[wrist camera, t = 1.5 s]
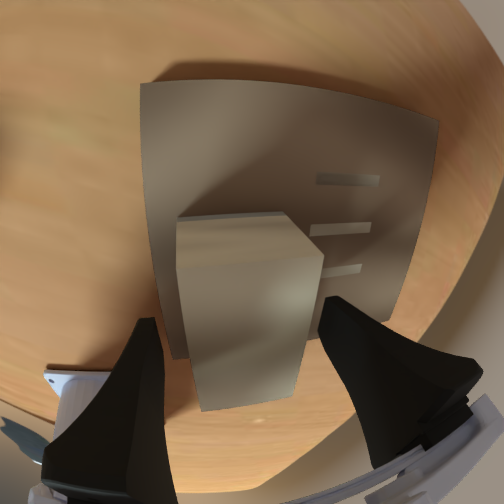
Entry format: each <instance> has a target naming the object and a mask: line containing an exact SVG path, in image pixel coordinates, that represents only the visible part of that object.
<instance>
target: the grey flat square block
mask: <svg viewBox="0 0 504 504" xmlns="http://www.w3.org/2000/svg"><path fill="white" fill-rule="evenodd" d="M438 128H439V121H438V120H436V119H433V118H430V117H428V116H425V115H422V114H419V113H416V112H413V111H410V110H407V109H404V108H401V107H398V106H394V105H391V104H388V103H384V102H380V101H377V100H373V99H369V98H365V97H361V96H356V95H352V94H347V93H343V92H338V91H332V90H327V89H321V88H315V87H309V86H302V85H294V84H286V83H276V82H265V81H250V80H222V79H205V80H177V81H162V82H151V83H142V84H140V133H141V157H142V173H143V186H144V197H145V207H146V216H147V225H148V233H149V240H150V247H151V254H152V260H153V267H154V273H155V279H156V284H157V290H158V295H159V300H160V305H161V310H162V315H163V320H164V324H165V329H166V333H167V337H168V342H169V346H170V350H171V354H172V358H173V360H174V359H186V358H190V356H189V351H188V345H187V339H186V334H185V328H184V322H183V315H182V309H181V302H180V295H179V288H178V280H177V272H176V228H177V218H178V217H191V216H206V215H221V214H238V213H257V212H279V211H283V212H284V213H285V214H286V215H287V216H288V217H289V218H290V220H291V221H292V222H293V223H294V224H295V225H296V226H297V227H298V228H299V229H300V230H301V231H302V232H303V233H304V234H305V235H306V236H307V237H308V238H309V239H310V240H311V242H312V243H313V244H314V245H315V246H316V247H317V248H318V249H319V250H320V251H321V252H322V253H323V254H324V260H323V265H322V271H321V276H320V281H319V286H318V291H317V296H316V301H315V306H314V310H313V315H312V320H311V324H310V328H309V333H308V337H307V340H312V339H317V338H320V337H319V335H318V332H317V329H318V325H319V321H320V317H321V313H322V309H323V305H324V301H325V297H330V296H336V295H338V296H339V297H341V298H343V299H344V300H346V301H347V302H349V303H350V304H352V305H353V306H355V307H356V308H358V309H359V310H361V311H362V312H364V313H365V314H367V315H368V316H370V317H371V318H373V319H374V320H376V321H378V322H379V323H381V322H385V321H388V320H389V319H390V317H391V314H392V312H393V309H394V307H395V304H396V302H397V299H398V297H399V294H400V291H401V288H402V286H403V283H404V280H405V277H406V274H407V271H408V268H409V265H410V262H411V259H412V255H413V252H414V249H415V245H416V242H417V238H418V235H419V231H420V227H421V223H422V220H423V215H424V211H425V207H426V203H427V198H428V193H429V188H430V183H431V178H432V172H433V166H434V160H435V153H436V146H437V137H438Z"/></svg>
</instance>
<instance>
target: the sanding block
mask: <svg viewBox="0 0 504 504" xmlns="http://www.w3.org/2000/svg"><path fill="white" fill-rule="evenodd" d="M323 260H324V254H323V253H322V252H321V251H320V250H319V249H318V248H317V247H316V246H315V245H314V244H313V243H312V242H311V240H310V239H309V238H308V237H307V236H306V235H305V234H304V233H303V232H302V231H301V230H300V229H299V228H298V227H297V226H296V225H295V224H294V223H293V222H292V221H291V220H290V218H289V217H288V216H287V215H286V214H285V213H284V212H283V211H279V212H257V213H238V214H221V215H206V216H191V217H178V218H177V228H176V272H177V280H178V288H179V295H180V302H181V309H182V315H183V322H184V328H185V334H186V339H187V345H188V351H189V356H190V361H191V366H192V371H193V376H194V381H195V386H196V390H197V395H198V399H199V404H200V408H201V412H203V411H212V410H220V409H228V408H234V407H241V406H247V405H252V404H258V403H263V402H268V401H273V400H278V399H282V398H287V397H291V396H292V395H293V391H294V388H295V384H296V381H297V377H298V373H299V369H300V365H301V361H302V358H303V354H304V349H305V345H306V341H307V337H308V333H309V328H310V324H311V320H312V315H313V310H314V306H315V301H316V296H317V291H318V286H319V281H320V276H321V271H322V265H323Z"/></svg>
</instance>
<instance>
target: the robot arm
mask: <svg viewBox="0 0 504 504" xmlns="http://www.w3.org/2000/svg"><path fill="white" fill-rule="evenodd" d="M317 332H318V335H319V337H320V340H321V342H322V345H323V347H324V350H325V352H326V353H327V355H328V357H329V359H330V360H331V362H332V364H333V366H334V368H335V369H336V371H337V373H338V374H339V376H340V378H341V380H342V381H343V383H344V385H345V387H346V389H347V391H348V393H349V395H350V397H351V400H352V402H353V405H354V407H355V410H356V412H357V415H358V418H359V421H360V423H361V426H362V429H363V433H364V436H365V439H366V443H367V447H368V451H369V455H370V460H371V464H372V467H373V468H374V470H373V471H371V472H369V473H366V474H364V475H362V476H360V477H358V478H355V479H353V480H351V481H348V482H346V483H343V484H341V485H338V486H335V487H333V488H330V489H327V490H325V491H322V492H319V493H316V494H313V495H310V496H306V497H303V498H300V499H296V500H293V501H289V502H285V503H281V504H334V503H337V502H339V501H342V500H344V499H347V498H349V497H351V496H354V495H356V494H358V493H360V492H362V491H365V490H367V489H369V488H371V487H373V486H375V485H377V484H379V483H381V482H383V481H385V480H387V479H388V478H391V477H392V476H394V475H396V474H398V473H399V474H398V476H397V479H396V480H395V481H393V482H391V483H389V484H388V485H386V486H384V487H382V488H380V489H379V490H377V491H375V492H373V493H371V494H369V495H367V496H365V498H364V499H365V501H366V503H367V504H437V503H438V502H440V501H441V500H442V499H443V498H444V497H445V496H446V495H447V494H448V493H449V492H450V491H451V490H453V488H454V487H456V486H457V485H458V484H459V483H460V481H461V480H462V479H463V478H464V477H465V476H466V475H467V474H468V473H469V472H470V471H471V470H472V469H473V468H474V466H475V465H476V464H477V463H478V462H479V461H480V460H481V458H482V457H483V456H484V455H485V454H486V452H487V451H488V450H489V449H490V447H491V446H492V445H493V444H494V443H495V441H496V440H497V439H498V438H499V437H500V435H501V434H502V433H503V432H504V418H503V416H502V415H501V413H500V412H499V411H498V409H497V408H496V406H495V405H494V404H493V402H492V401H491V400H490V398H489V397H488V396H487V395H486V394H483V395H482V396H481V397H480V398H479V399H478V400H476V401H475V402H474V403H473V404H472V405H471V406H470V407H468V405H467V404H466V403H468V402H469V399H468V398H467V396H466V395H467V394H468V393H469V391H470V390H471V389H472V388H473V387H474V385H475V384H476V383H477V382H478V380H479V379H480V378H481V376H482V374H483V369H482V368H481V367H480V366H479V365H478V363H477V362H476V361H475V360H474V359H472V358H467V357H461V356H456V355H452V354H448V353H444V352H440V351H438V350H435V349H432V348H429V347H426V346H424V345H421V344H419V343H416V342H414V341H412V340H410V339H408V338H406V337H404V336H402V335H400V334H398V333H396V332H394V331H393V330H391V329H389V328H387V327H386V326H384V325H382V324H381V323H379V322H378V321H376V320H374V319H373V318H371V317H370V316H368V315H367V314H365V313H364V312H362V311H361V310H359V309H358V308H356V307H355V306H353V305H352V304H350V303H349V302H347V301H346V300H344V299H343V298H341V297H339V296H338V295H336V296H330V297H325V301H324V305H323V309H322V313H321V317H320V321H319V325H318V329H317ZM43 375H44V377H45V379H46V380H47V381H48V383H49V384H50V385H51V387H52V388H53V389H54V391H55V392H56V393H57V395H58V396H59V397H60V401H59V406H58V411H57V417H56V423H55V429H54V436H53V442H51V443H50V444H49V445H48V446H47V447H45V449H44V453H43V459H42V470H41V481H42V483H43V484H44V485H43V484H38V485H37V486H34V487H32V488H31V489H30V492H29V498H28V504H178V501H177V497H176V493H175V489H174V484H173V480H172V475H171V470H170V465H169V459H168V453H167V446H166V438H165V430H164V383H165V369H164V355H163V349H162V345H161V341H160V337H159V334H158V330H157V326H156V321H155V317H151V318H140V319H139V320H138V321H137V323H136V326H135V328H134V330H133V332H132V334H131V336H130V338H129V340H128V343H127V345H126V346H125V348H124V350H123V352H122V354H121V356H120V358H119V360H118V361H117V363H116V365H115V366H114V368H113V370H112V371H111V372H86V371H62V370H44V373H43Z"/></svg>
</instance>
